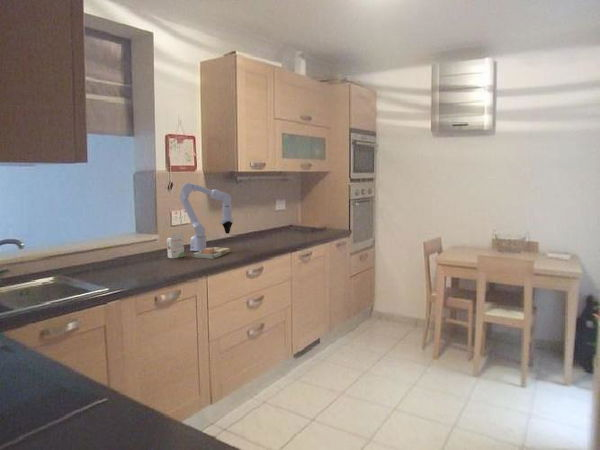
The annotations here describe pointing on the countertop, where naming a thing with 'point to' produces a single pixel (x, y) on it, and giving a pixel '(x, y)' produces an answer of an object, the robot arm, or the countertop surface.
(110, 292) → the countertop surface
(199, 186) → the robot arm
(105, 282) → the countertop surface
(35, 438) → the countertop surface
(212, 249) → the tile rear
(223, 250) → the beige square slab
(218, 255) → the tray
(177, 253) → the ink box
